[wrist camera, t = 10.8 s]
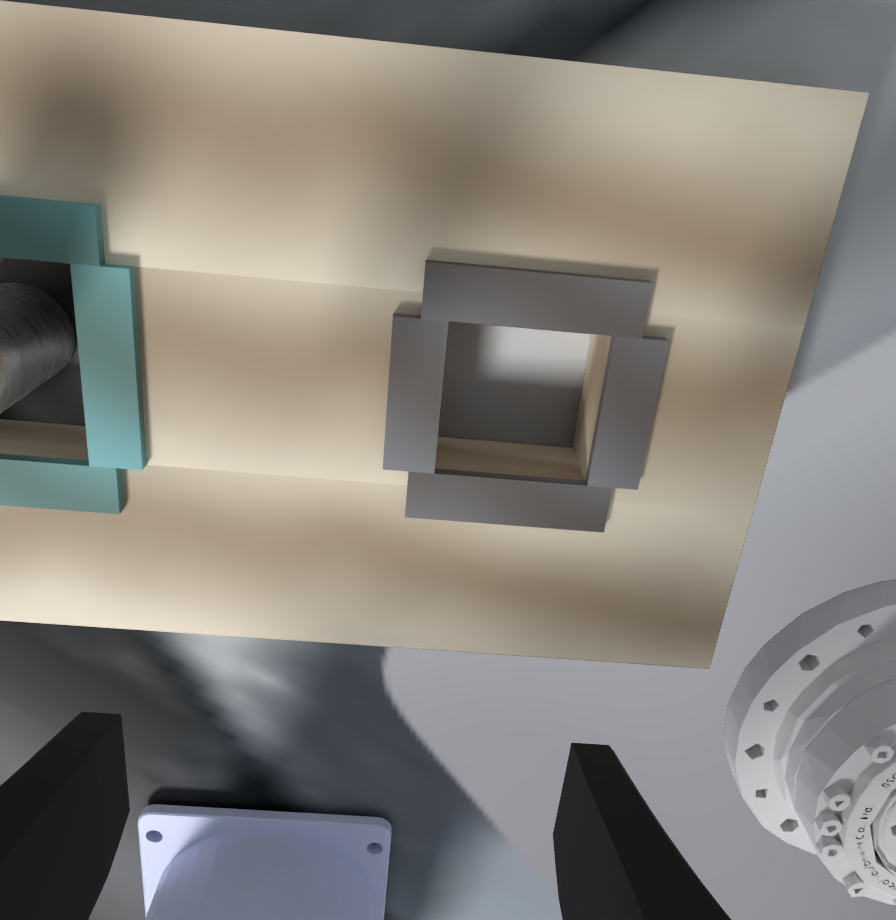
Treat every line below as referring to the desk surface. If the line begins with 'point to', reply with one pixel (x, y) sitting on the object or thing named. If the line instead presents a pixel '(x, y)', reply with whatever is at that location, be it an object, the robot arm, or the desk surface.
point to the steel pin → (31, 340)
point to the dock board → (398, 332)
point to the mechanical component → (825, 737)
